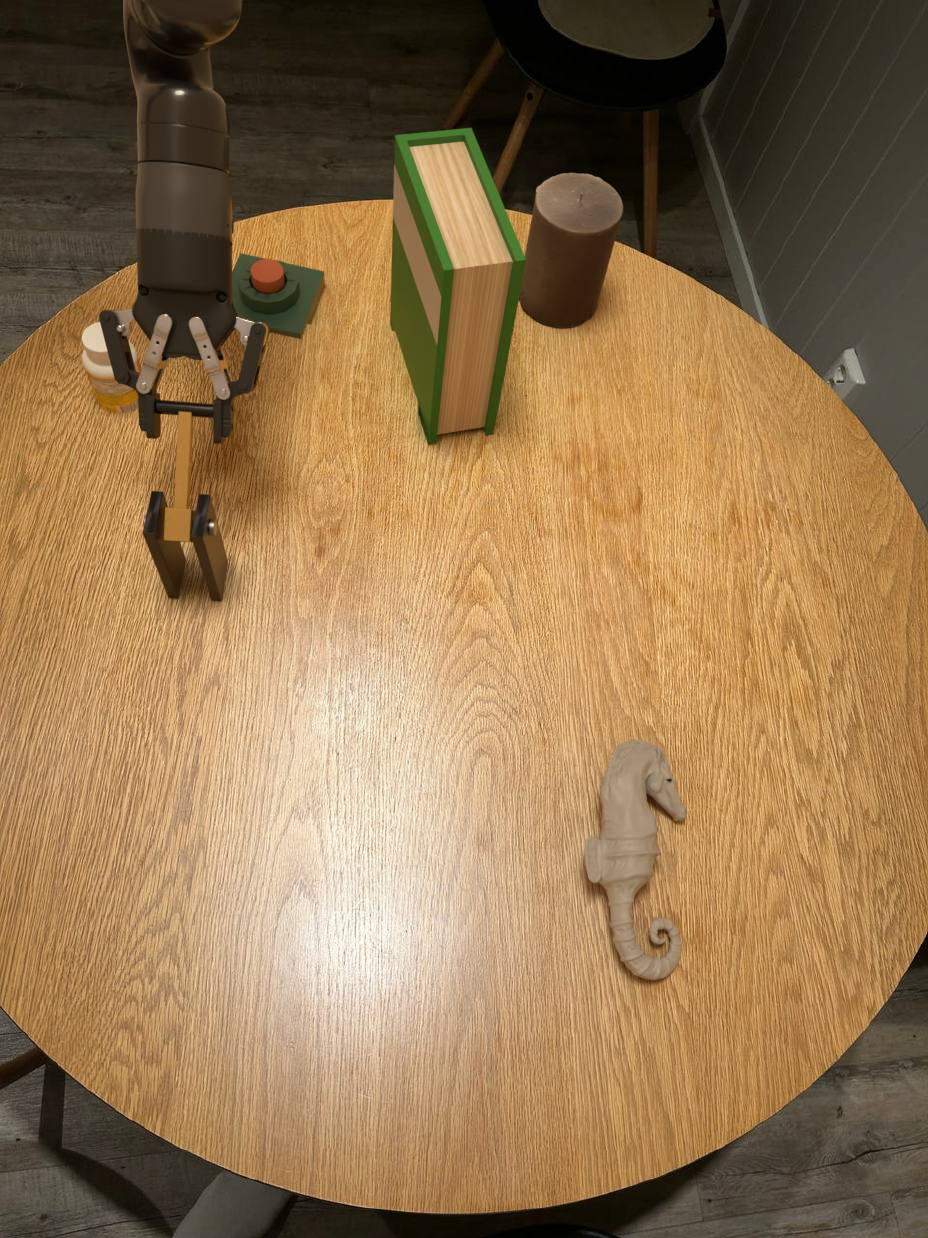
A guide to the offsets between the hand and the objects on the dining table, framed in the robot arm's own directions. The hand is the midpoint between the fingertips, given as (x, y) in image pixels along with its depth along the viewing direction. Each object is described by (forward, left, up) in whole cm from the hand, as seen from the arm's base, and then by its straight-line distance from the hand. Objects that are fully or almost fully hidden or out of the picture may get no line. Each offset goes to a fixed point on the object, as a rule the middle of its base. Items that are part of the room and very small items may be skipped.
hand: (187, 439), depth 81 cm
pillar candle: (+29, +41, -14) cm, 53 cm away
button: (-3, +30, -11) cm, 32 cm away
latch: (0, -2, -2) cm, 3 cm away
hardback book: (+18, +25, -14) cm, 34 cm away
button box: (-3, +30, -14) cm, 33 cm away
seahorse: (+46, -24, -14) cm, 54 cm away
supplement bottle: (-14, +13, -14) cm, 24 cm away
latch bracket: (+1, -7, -14) cm, 16 cm away
